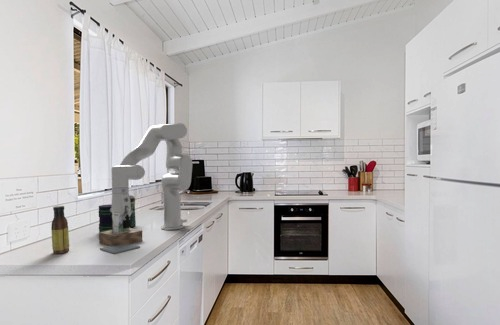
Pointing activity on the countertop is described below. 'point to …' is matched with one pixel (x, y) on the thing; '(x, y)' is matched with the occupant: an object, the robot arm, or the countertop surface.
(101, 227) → the storage jar
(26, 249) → the countertop surface
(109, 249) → the mat
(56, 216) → the sauce bottle
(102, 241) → the pocket block
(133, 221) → the coffee jar
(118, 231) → the syrup box
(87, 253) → the countertop surface
